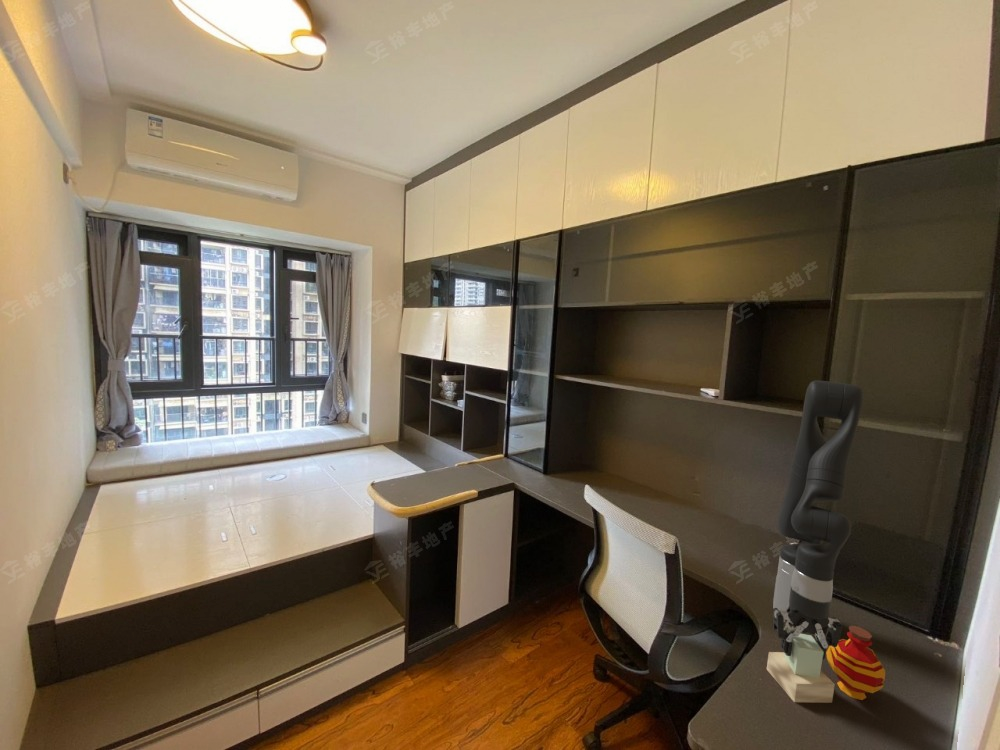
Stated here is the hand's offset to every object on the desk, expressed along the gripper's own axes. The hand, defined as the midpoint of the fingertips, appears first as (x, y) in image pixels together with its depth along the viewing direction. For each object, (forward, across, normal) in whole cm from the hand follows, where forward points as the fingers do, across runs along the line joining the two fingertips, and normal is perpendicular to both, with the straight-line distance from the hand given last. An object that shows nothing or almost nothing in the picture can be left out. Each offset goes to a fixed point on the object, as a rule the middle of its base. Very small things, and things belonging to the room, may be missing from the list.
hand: (801, 655), depth 95 cm
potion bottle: (+8, -12, -2) cm, 14 cm away
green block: (+3, 0, 0) cm, 3 cm away
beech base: (+8, 0, 0) cm, 8 cm away
